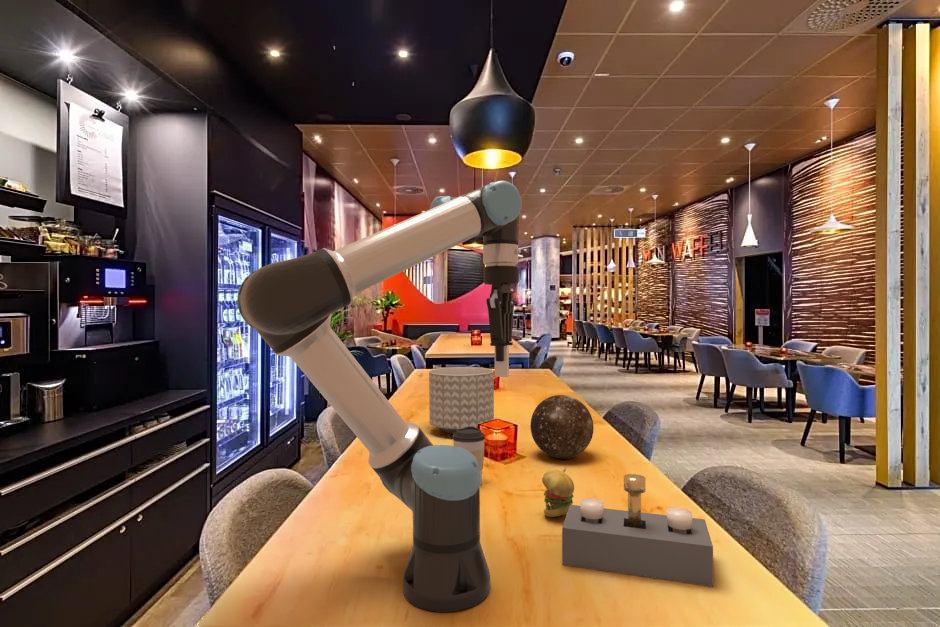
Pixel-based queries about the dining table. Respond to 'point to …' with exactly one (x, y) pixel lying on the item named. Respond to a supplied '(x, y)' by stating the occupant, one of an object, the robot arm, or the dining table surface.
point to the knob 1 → (592, 510)
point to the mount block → (638, 546)
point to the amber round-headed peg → (634, 498)
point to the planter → (460, 397)
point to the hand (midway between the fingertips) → (501, 376)
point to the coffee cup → (471, 443)
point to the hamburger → (557, 492)
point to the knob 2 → (679, 519)
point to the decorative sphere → (562, 426)
